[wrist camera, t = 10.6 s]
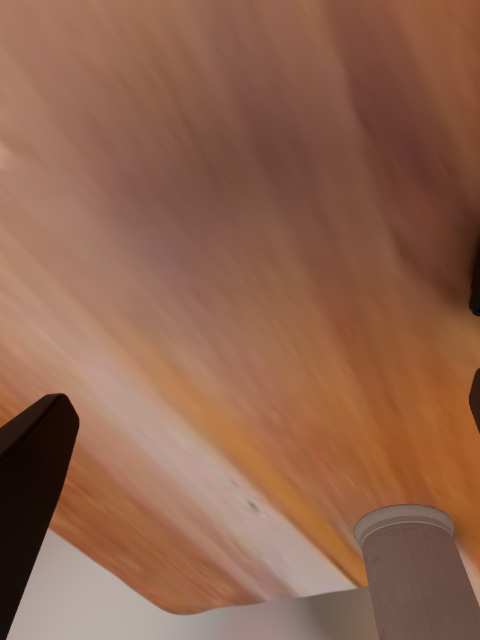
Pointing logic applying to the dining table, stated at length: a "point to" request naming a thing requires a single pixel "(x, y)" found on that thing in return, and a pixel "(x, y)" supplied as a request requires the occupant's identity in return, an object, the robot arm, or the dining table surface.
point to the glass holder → (417, 575)
